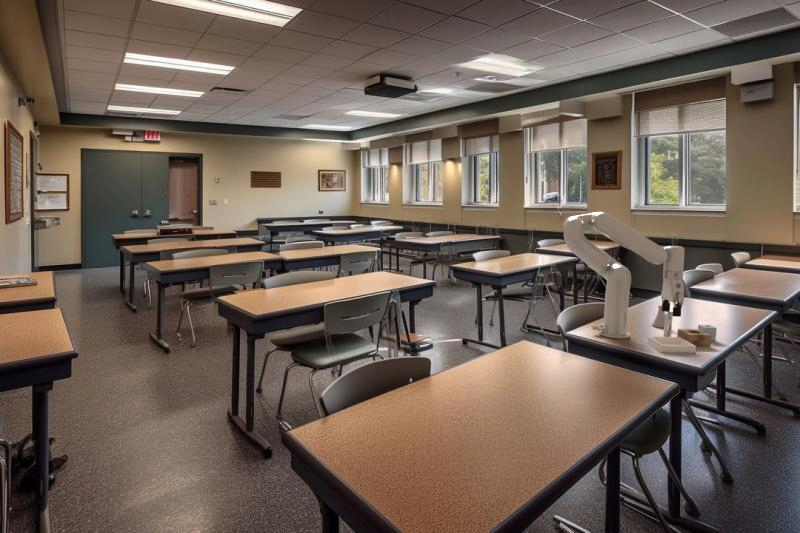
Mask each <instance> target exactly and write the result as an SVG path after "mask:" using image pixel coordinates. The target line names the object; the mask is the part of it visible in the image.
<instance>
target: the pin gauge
mask: <svg viewBox="0 0 800 533" xmlns="http://www.w3.org/2000/svg"><path fill="white" fill-rule="evenodd" d="M673 317H674V316H673V311H665V325H664V328H663V337H672V330H673V329H672V328H673Z"/></svg>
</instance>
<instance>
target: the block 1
mask: <svg viewBox="0 0 800 533" xmlns="http://www.w3.org/2000/svg"><path fill="white" fill-rule="evenodd" d="M676 334H677V335H676V337H680V338H682V339H684V340H686V341H688V342H689V343H691V344H693V345H695V346H696V348H697V347H700V348H702V347H703V348H706V347H707V348H711V343H712V341H711V335H710V334H708V333H706V332H704V331H702V330H700V329H698V328H695V329H693V328H691V329H690V328H677V333H676Z"/></svg>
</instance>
